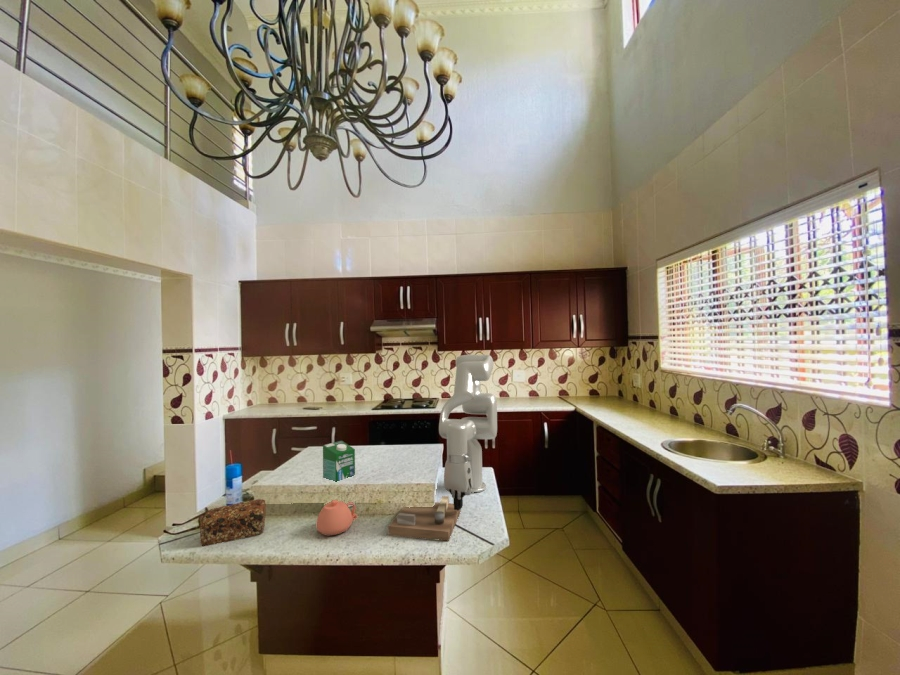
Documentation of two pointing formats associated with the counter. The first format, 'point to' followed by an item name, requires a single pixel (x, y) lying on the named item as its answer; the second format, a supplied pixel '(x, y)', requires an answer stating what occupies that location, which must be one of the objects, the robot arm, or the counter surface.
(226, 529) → the bread
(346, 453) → the milk carton
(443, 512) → the folding leg
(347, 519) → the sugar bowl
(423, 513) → the wooden board
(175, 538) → the counter surface
